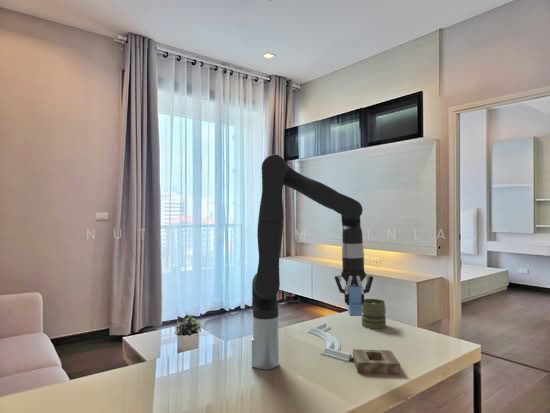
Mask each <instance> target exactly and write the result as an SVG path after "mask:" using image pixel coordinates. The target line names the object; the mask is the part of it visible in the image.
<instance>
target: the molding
mask: <svg viewBox="0 0 550 413" xmlns="http://www.w3.org/2000/svg"><path fill="white" fill-rule="evenodd" d="M331 329H332V328H331V326H327V324H326V322H323V323H320V324H318V325H316V326H314V327H311V329H309V330H307V334H311V335H314V336H317V337H319V338H320V339H321V340H322V341H324V342H325V344H326V347H325V349H324V350H322V351H321V352H320V355H322V356H324V357H325V356H326V357H328V358H332V359H336V360H339V361H342V362H343V361H344V362H346V363H348V362H350V361H351V360H353V354H351V353H348V352H344V351H341V344H340V342H339V340H338V339H337V338H336V337H335V336H334V335H332V334H331V333H328V332H327V331H330V330H331Z"/></svg>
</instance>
